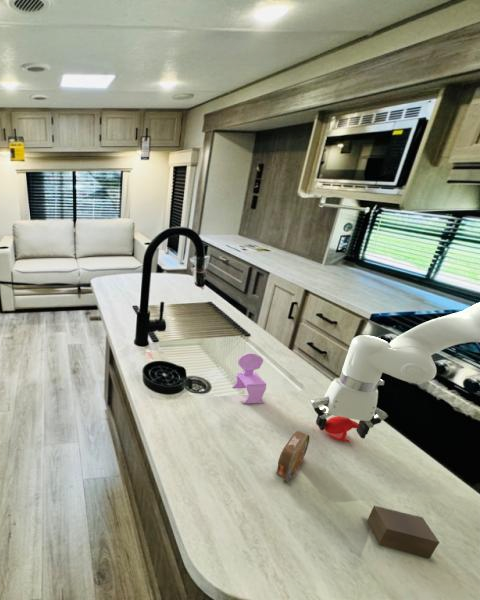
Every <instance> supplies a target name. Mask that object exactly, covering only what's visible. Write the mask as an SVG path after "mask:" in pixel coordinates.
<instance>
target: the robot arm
mask: <svg viewBox="0 0 480 600" xmlns="http://www.w3.org/2000/svg"><path fill="white" fill-rule="evenodd" d="M466 343H480V301H479V302H477V303H476V304H473V305H472V306H470V307H468V308H466V309H464V310H462V311H459V312H454V313H450V314H447V315H444V316H441V317H440V316H439V317H437V318H433V319H430V320H428V321H425V322H422V323H420V324H418V325H416V326H414V327H412V328H410V329H409V330H407V331H404V332H402V333H401V334H399V335H398V336H396V337H394V338H393V339H392V340H391V341H390V342H388V341H386V340H384V339H381V338H379V337H376V336H373V335H365V334H359V335H357V336H355V337H353V338H352V339H351V342H350V345H349V348H348V350H347V354H346V356H345V359H344V363H343V365H342V368H341V372H340V374H339V377H335V378H334V379H333V380H332V382H331V383H330V384H329V386H328V389H327V390H326V393H325V395H324V397H321V398H320V397H319V398H315V399H311V400H310V404H311V405H312V408H313V410H314V412H315V413H316V414H317V416H316V419H315V424H316V426H318V429H319V430H320V431H325V430H324V428H325V425H326V422H327V420H328V419H327V418H329V417H331V416H333V417H336V416H339V417H345V418H349V419H351V420H357V421H359V422H358V424H359V425H360V427H359V428H355V429H356V430H355V431H356V433H357V434H358V436H359V437H360V438H361V439H363V440H364V439H365V438H366V435H368V434H369V431H370V429H372V428H374V426H376V425H378V424H380V423H382V421H384V420H385V419H387V418H388V417H389V415H388V414H387V412H386V411H384V410H382V409H380V408H379V407H377V405H378V401H379V400H378V399H379V390H378V388H379V386H384V385H385V380H383V379H381V377H382V375H383V374H385V375H389V376H391V377H393V378H396V379H398V380H401V381H404V382H407V383H412V384H424V383H429V382H431V381H432V380H433V379H434V378H435V377H436V376H437V366H436V363H435V361H434V359H433V355H435V354H437V353H439V352H441V351H443V350H445V349H448V348H450V347H454V346H457V345H462V344H466ZM320 406H322V407H320ZM375 414H376V415H375Z"/></svg>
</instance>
